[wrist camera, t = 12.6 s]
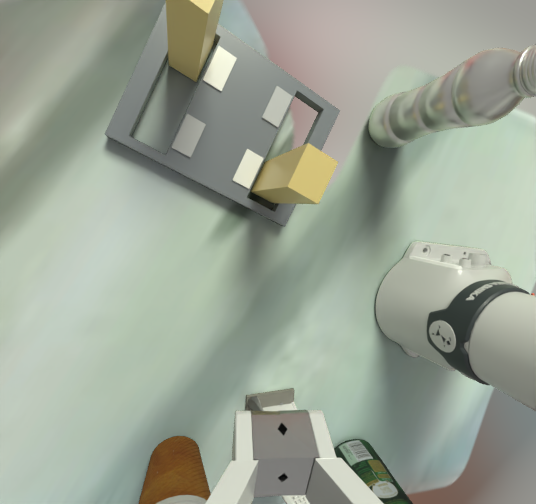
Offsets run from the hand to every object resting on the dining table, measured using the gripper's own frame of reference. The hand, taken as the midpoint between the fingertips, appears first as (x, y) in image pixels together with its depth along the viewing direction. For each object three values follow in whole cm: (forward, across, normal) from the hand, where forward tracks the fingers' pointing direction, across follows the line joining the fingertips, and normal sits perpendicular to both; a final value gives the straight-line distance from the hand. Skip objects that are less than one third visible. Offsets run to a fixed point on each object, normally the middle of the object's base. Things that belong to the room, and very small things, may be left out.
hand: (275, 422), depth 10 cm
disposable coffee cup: (+20, +8, +33) cm, 39 cm away
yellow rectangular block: (+31, -2, -2) cm, 31 cm away
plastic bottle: (+36, -18, -11) cm, 42 cm away
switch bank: (+32, +2, -9) cm, 33 cm away
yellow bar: (+33, +7, -15) cm, 37 cm away
